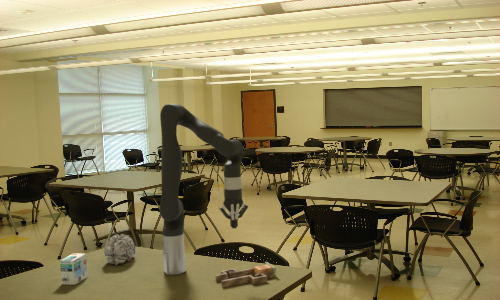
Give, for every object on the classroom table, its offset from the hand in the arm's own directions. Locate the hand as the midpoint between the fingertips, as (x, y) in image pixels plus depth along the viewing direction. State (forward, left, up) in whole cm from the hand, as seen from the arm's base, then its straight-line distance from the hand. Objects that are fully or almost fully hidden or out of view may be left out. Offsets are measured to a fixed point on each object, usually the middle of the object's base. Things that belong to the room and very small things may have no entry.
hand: (234, 228), depth 196 cm
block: (+11, -3, -22) cm, 25 cm away
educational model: (-41, +51, -22) cm, 69 cm away
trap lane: (+3, -3, -22) cm, 22 cm away
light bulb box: (-63, +34, -22) cm, 75 cm away
